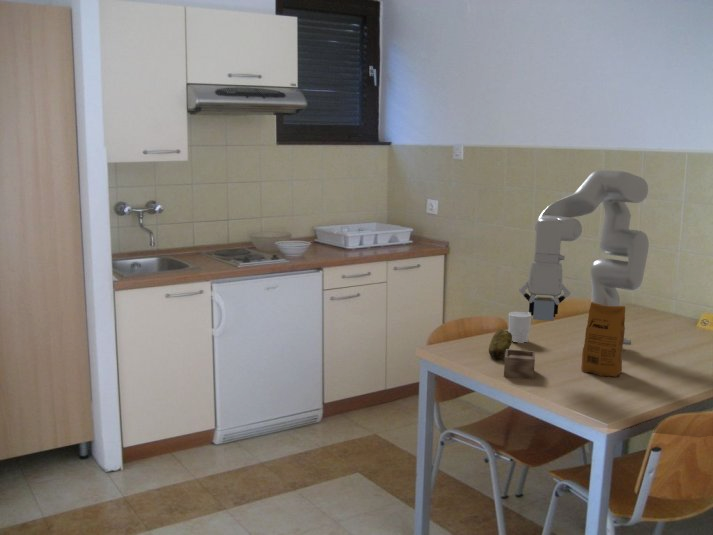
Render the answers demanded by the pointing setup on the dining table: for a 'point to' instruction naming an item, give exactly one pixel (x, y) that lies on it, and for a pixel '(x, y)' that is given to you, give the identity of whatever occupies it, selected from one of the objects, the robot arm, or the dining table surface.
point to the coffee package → (604, 340)
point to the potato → (500, 344)
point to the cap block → (543, 308)
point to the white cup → (519, 326)
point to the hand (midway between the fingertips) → (542, 314)
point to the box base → (519, 364)
